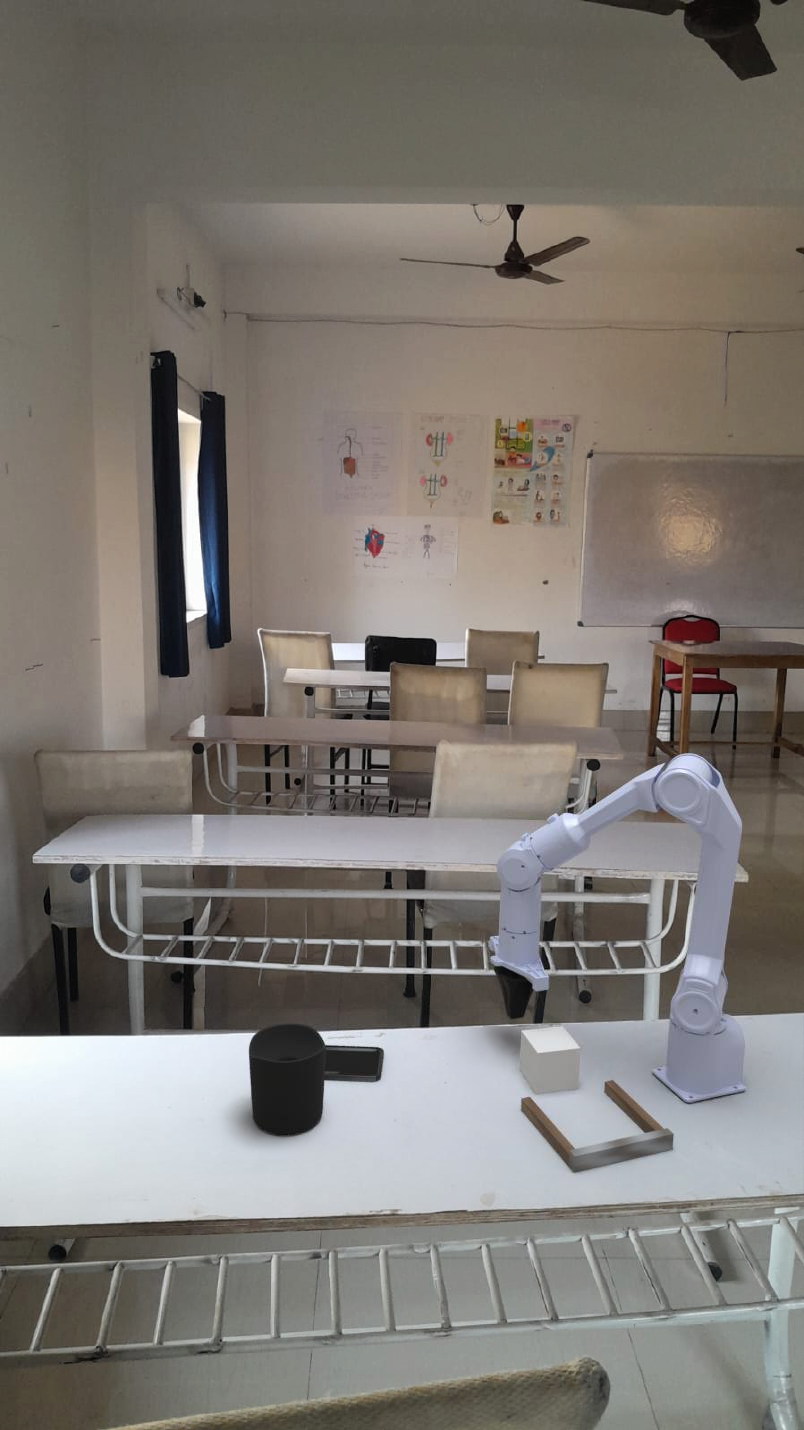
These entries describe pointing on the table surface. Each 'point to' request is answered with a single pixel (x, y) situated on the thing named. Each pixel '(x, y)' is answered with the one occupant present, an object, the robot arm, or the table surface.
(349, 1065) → the phone
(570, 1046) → the white cube
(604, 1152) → the u-shaped frame
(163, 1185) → the table surface
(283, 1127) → the pen holder
